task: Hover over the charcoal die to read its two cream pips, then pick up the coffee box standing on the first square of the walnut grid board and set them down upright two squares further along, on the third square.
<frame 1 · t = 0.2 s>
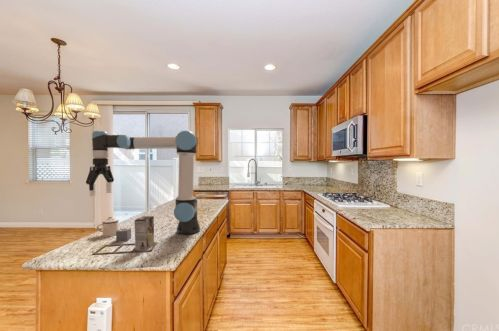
hand: (101, 194, 135), 27 cm above the counter, tool pointing down, fingers open, 13 cm apart
board: (127, 248, 124), on the counter
die: (123, 239, 138), on the counter
coffee box: (144, 248, 125), resting in board
teacup with lid: (108, 235, 148), on the counter
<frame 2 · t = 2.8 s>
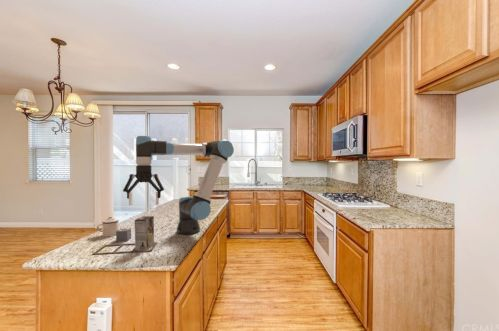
hand: (144, 204, 125), 23 cm above the counter, tool pointing down, fingers open, 13 cm apart
nothing on the counter moved.
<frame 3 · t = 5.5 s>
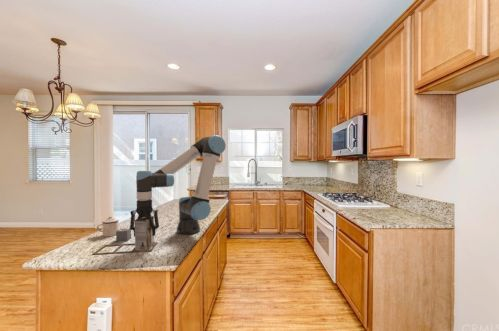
hand: (144, 241, 125), 3 cm above the counter, tool pointing down, fingers closed on coffee box, 7 cm apart
coffee box: (144, 248, 125), resting in board, touching gripper
everything else where it was.
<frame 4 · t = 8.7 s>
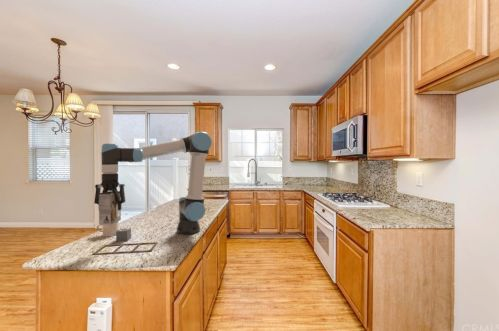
hand: (110, 216, 122), 17 cm above the counter, tool pointing down, fingers closed on coffee box, 7 cm apart
coffee box: (110, 222, 122), point 14 cm above the counter, touching gripper
everything else where it was.
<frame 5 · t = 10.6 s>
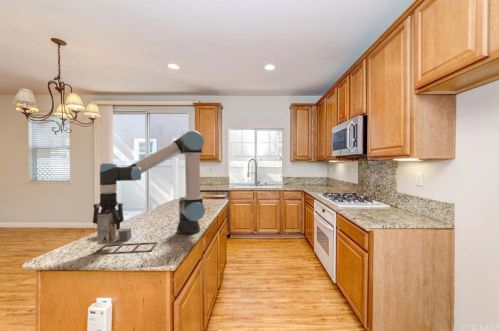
hand: (108, 235, 122), 7 cm above the counter, tool pointing down, fingers closed on coffee box, 7 cm apart
coffee box: (108, 242, 122), point 4 cm above the counter, touching gripper
everything else where it was.
when the fingers open (4 cm above the counter, at t = 12.0 s): coffee box drops 1 cm, resting in board.
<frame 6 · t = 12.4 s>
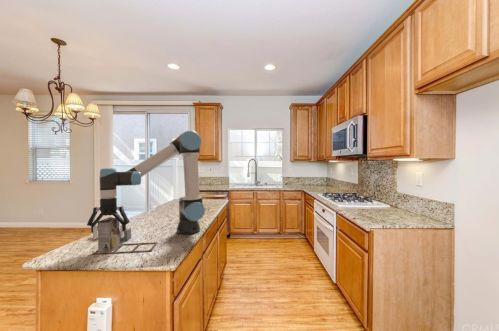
hand: (108, 238, 123), 6 cm above the counter, tool pointing down, fingers open, 13 cm apart
coffee box: (109, 249, 123), resting in board
everything else where it was.
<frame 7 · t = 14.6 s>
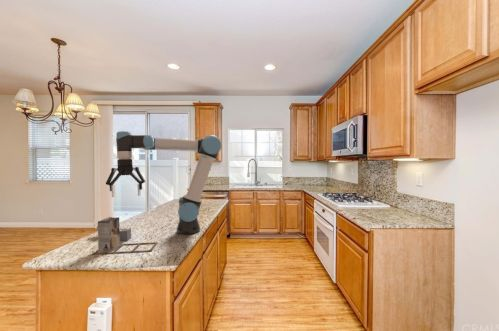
hand: (126, 196, 133), 27 cm above the counter, tool pointing down, fingers open, 13 cm apart
nothing on the counter moved.
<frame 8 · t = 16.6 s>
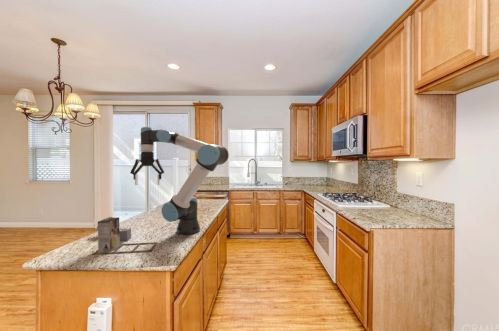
hand: (147, 184, 149), 32 cm above the counter, tool pointing down, fingers open, 13 cm apart
nothing on the counter moved.
at the end: coffee box 0.2 cm from the target spot on the board, point 0.0 cm above the board's base; coffee box tilted 0°; the gripper is holding nothing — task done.
